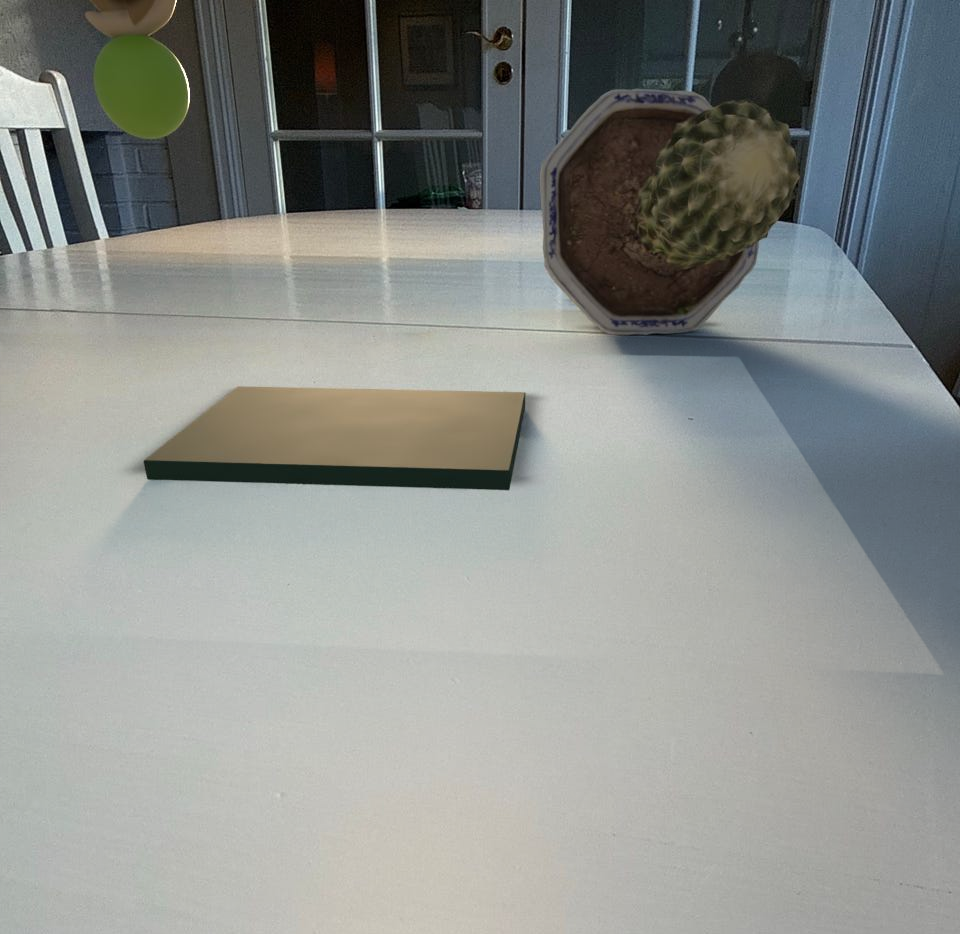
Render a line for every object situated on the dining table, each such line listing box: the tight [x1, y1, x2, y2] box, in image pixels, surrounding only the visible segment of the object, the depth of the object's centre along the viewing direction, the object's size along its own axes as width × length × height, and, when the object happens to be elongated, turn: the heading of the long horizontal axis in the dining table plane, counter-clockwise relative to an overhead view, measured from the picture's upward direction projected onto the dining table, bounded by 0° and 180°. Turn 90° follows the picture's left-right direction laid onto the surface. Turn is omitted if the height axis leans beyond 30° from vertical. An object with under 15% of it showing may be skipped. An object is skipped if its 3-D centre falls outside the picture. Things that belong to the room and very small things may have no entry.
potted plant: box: [539, 88, 801, 336], centre depth 68 cm, size 18×18×30 cm
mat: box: [143, 386, 527, 491], centre depth 49 cm, size 18×14×1 cm
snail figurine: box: [84, 0, 190, 140], centre depth 53 cm, size 5×6×12 cm
